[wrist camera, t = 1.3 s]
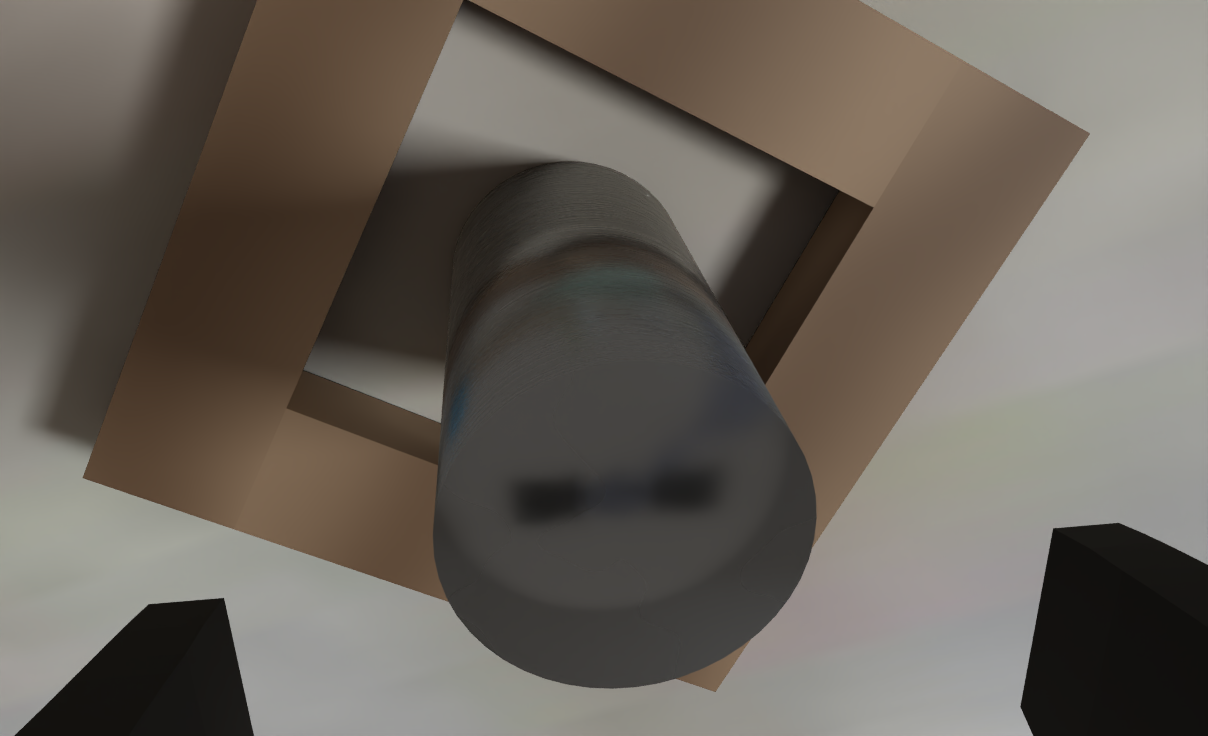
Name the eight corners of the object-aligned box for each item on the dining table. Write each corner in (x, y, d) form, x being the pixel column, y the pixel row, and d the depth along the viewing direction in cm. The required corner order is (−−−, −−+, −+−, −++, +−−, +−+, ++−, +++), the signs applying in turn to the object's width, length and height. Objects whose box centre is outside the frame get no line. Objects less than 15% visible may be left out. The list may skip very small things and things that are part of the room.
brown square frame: (1043, 114, 18) (1090, 133, 16) (700, 641, 22) (715, 691, 20) (372, -270, 14) (361, -286, 13) (112, 434, 18) (83, 477, 17)
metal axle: (725, 223, 18) (889, 450, 11) (618, 413, 19) (700, 729, 12) (513, 120, 17) (536, 297, 10) (415, 329, 18) (371, 623, 11)
